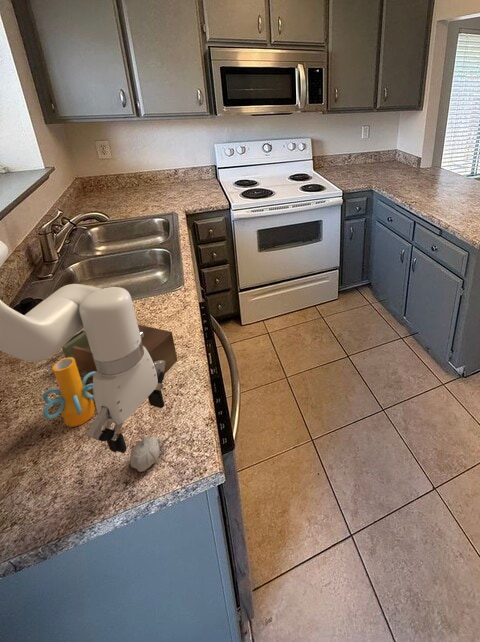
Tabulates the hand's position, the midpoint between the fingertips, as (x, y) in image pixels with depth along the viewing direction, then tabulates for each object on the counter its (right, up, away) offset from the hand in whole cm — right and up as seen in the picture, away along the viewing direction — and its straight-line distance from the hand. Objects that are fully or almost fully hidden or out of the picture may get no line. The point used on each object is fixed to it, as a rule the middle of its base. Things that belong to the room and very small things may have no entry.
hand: (139, 426), depth 69 cm
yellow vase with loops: (-21, -6, +14) cm, 25 cm away
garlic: (0, -9, +3) cm, 10 cm away
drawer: (-26, +1, +29) cm, 39 cm away
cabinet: (-14, -1, +26) cm, 29 cm away
